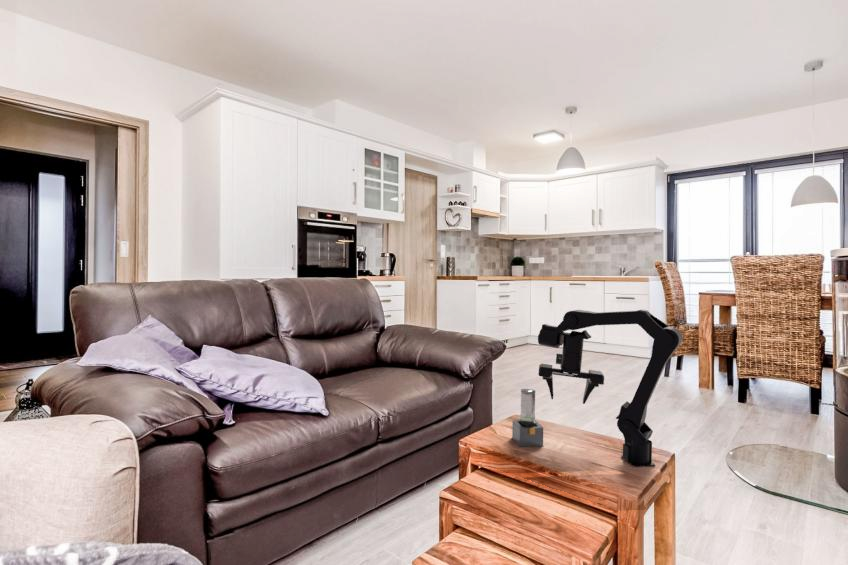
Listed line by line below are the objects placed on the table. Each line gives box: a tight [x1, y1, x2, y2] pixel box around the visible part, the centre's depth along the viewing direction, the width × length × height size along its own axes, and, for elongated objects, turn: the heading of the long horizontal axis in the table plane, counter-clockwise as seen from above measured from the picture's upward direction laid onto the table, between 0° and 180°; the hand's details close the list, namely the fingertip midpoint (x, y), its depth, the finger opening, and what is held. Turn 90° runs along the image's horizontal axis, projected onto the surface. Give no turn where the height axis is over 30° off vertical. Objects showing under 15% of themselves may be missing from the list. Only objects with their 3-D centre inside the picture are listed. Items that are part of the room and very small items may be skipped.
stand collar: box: [511, 419, 544, 448], centre depth 133 cm, size 8×8×6 cm
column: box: [519, 388, 536, 427], centre depth 134 cm, size 4×4×12 cm
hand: (567, 401), depth 134 cm, fingers open, 9 cm apart
